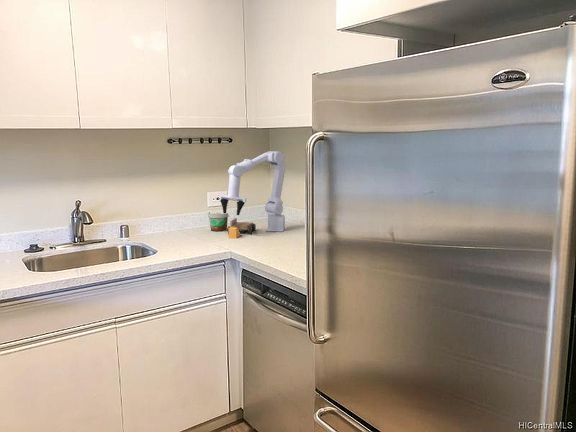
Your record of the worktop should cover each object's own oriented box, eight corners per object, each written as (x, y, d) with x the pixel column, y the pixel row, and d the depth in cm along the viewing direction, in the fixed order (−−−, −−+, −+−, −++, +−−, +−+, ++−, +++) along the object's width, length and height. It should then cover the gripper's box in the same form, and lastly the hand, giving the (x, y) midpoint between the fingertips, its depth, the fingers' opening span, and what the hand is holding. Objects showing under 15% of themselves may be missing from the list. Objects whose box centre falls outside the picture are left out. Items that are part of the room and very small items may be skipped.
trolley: (255, 230, 260) (255, 217, 259) (250, 234, 247) (249, 222, 246) (234, 229, 262) (233, 217, 261) (227, 234, 249) (227, 221, 248)
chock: (240, 235, 247) (239, 225, 246) (236, 238, 239) (235, 228, 239) (233, 235, 248) (232, 225, 247) (228, 238, 240) (228, 228, 239)
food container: (204, 231, 258) (203, 213, 256) (209, 229, 264) (208, 212, 262) (224, 232, 254) (224, 214, 253) (229, 230, 260) (228, 212, 258)
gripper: (218, 186, 238) (215, 212, 240) (243, 189, 234) (240, 216, 235) (223, 186, 245) (221, 212, 246) (248, 190, 241) (246, 215, 242)
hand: (231, 214), depth 241 cm, fingers open, 7 cm apart
